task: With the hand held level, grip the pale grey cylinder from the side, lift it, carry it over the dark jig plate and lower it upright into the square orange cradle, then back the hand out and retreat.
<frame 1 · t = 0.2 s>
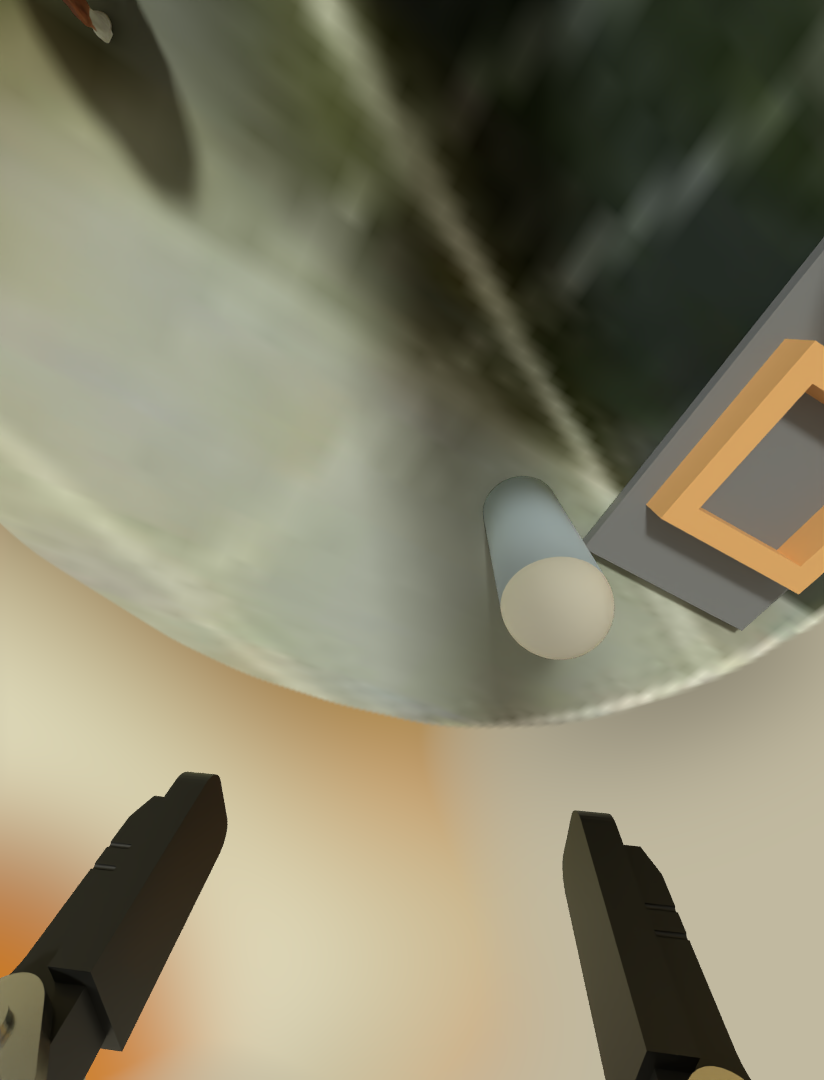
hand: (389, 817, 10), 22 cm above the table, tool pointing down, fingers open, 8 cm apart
pale grey cylinder: (519, 511, 30), on the table
jig: (771, 467, 28), on the table
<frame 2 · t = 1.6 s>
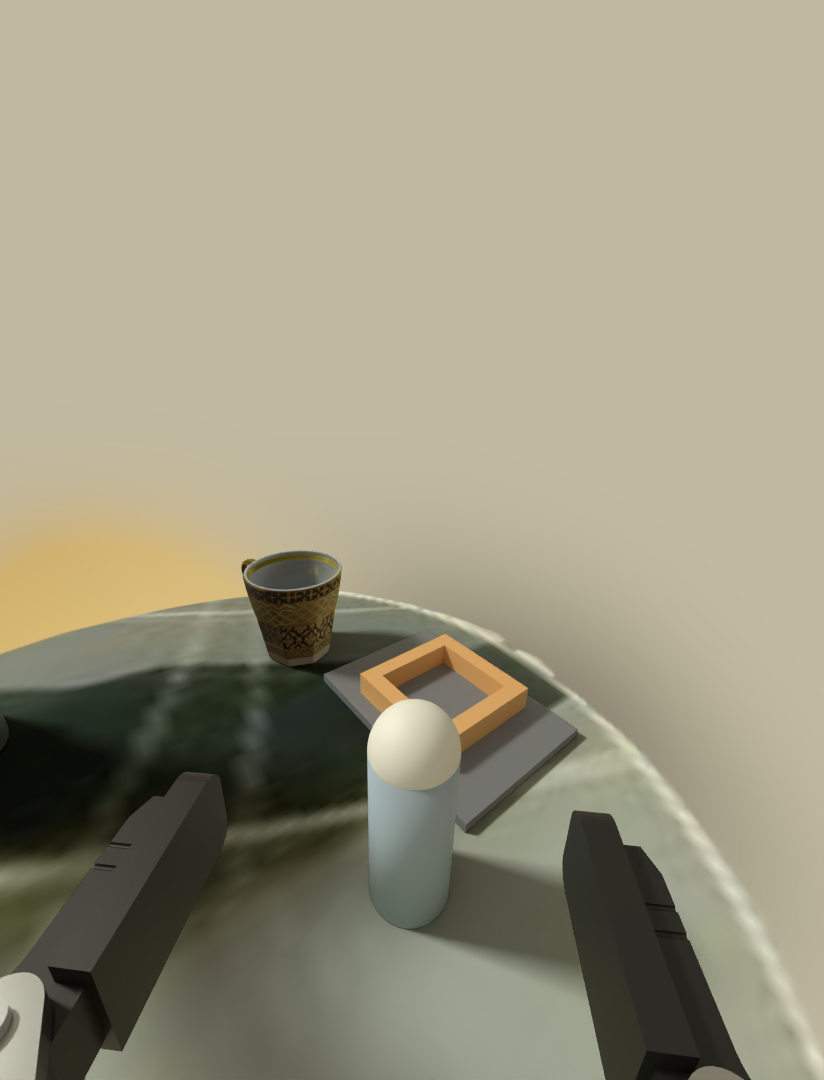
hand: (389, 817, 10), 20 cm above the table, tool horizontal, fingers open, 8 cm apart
ceramic cup: (290, 645, 51), on the table
pale grey cylinder: (409, 881, 28), on the table
jig: (441, 706, 42), on the table
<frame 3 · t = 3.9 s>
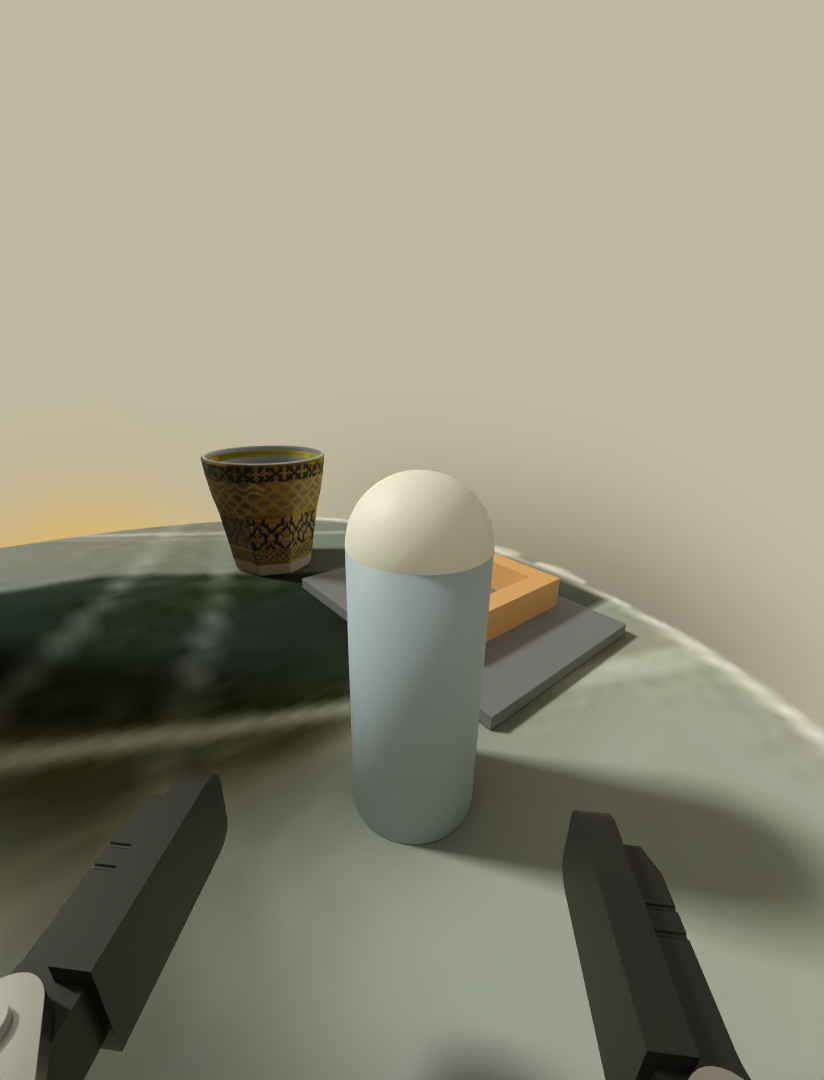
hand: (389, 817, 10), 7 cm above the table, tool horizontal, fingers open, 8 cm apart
ceramic cup: (263, 559, 42), on the table
pale grey cylinder: (413, 786, 19), on the table
jig: (449, 608, 33), on the table
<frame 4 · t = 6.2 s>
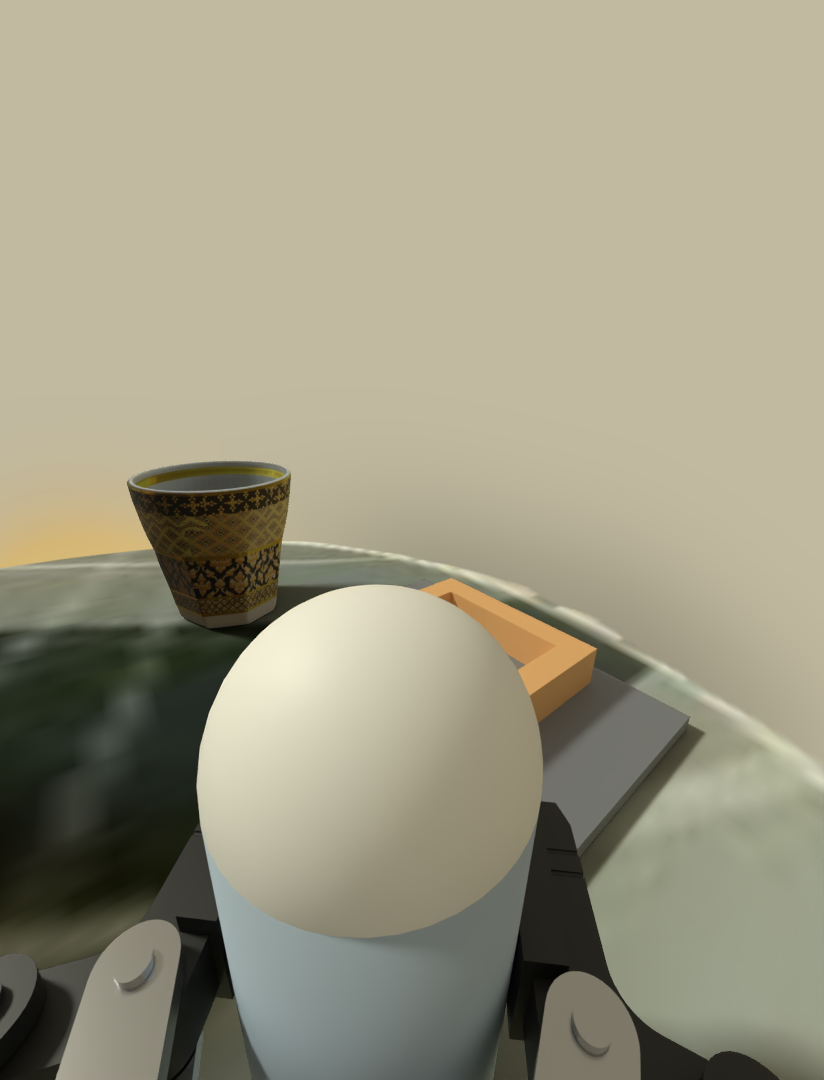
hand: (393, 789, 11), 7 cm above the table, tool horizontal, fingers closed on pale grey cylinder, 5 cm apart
ceramic cup: (219, 602, 34), on the table
jig: (447, 683, 25), on the table
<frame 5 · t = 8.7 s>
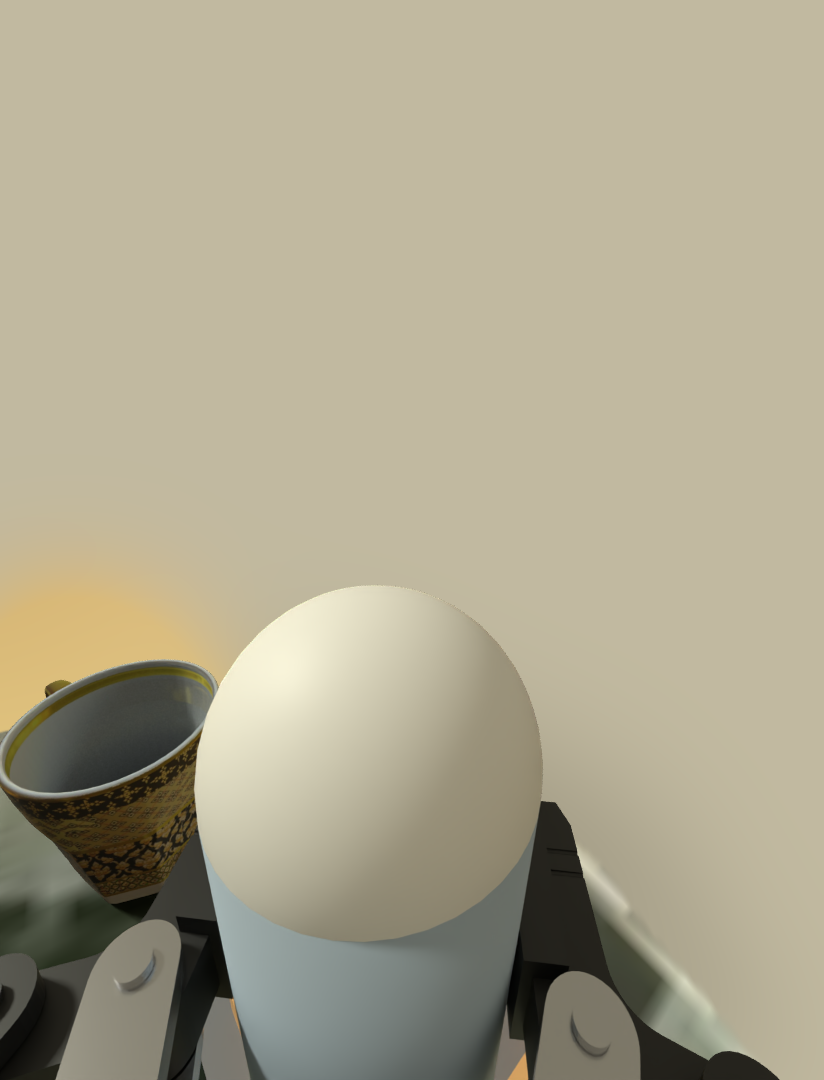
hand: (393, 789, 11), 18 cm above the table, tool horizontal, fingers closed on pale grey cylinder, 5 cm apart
ceramic cup: (138, 834, 28), on the table
jig: (406, 1041, 19), on the table
when the fingers open (9 cm above the table, at t = 11.7 s): pale grey cylinder drops 1 cm, resting on jig.
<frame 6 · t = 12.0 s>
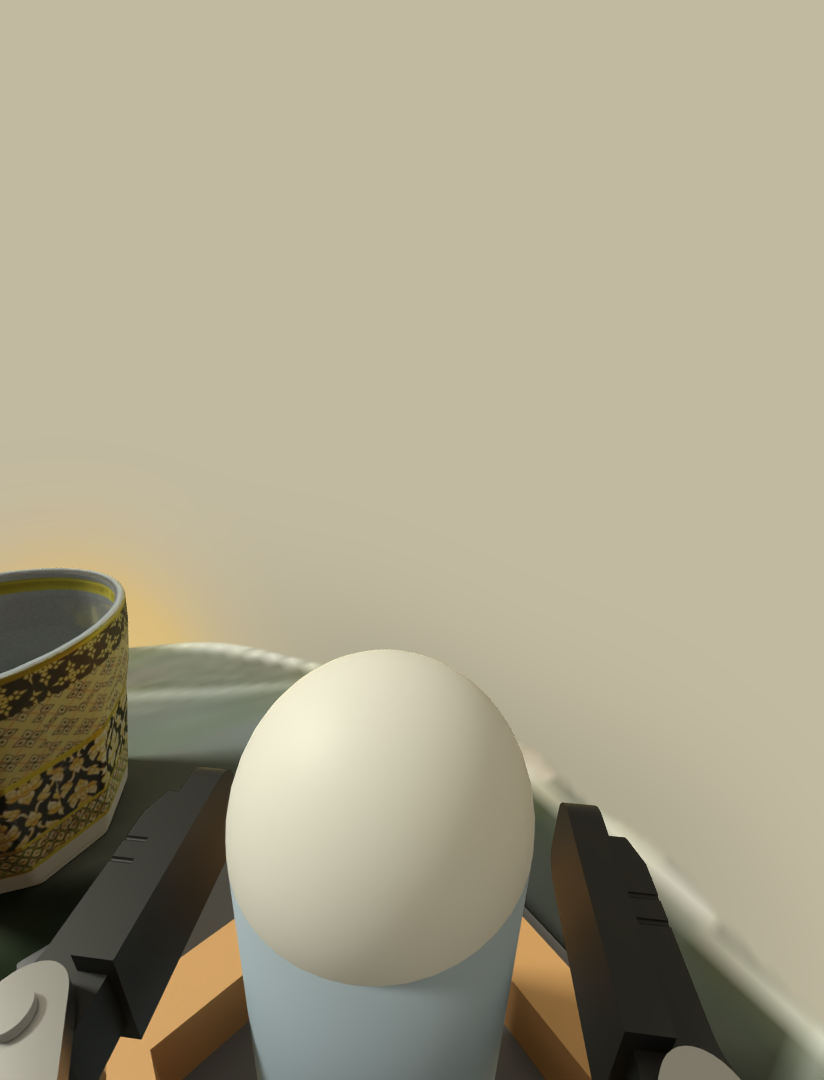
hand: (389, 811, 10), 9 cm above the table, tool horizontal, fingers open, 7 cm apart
ceramic cup: (23, 807, 20), on the table
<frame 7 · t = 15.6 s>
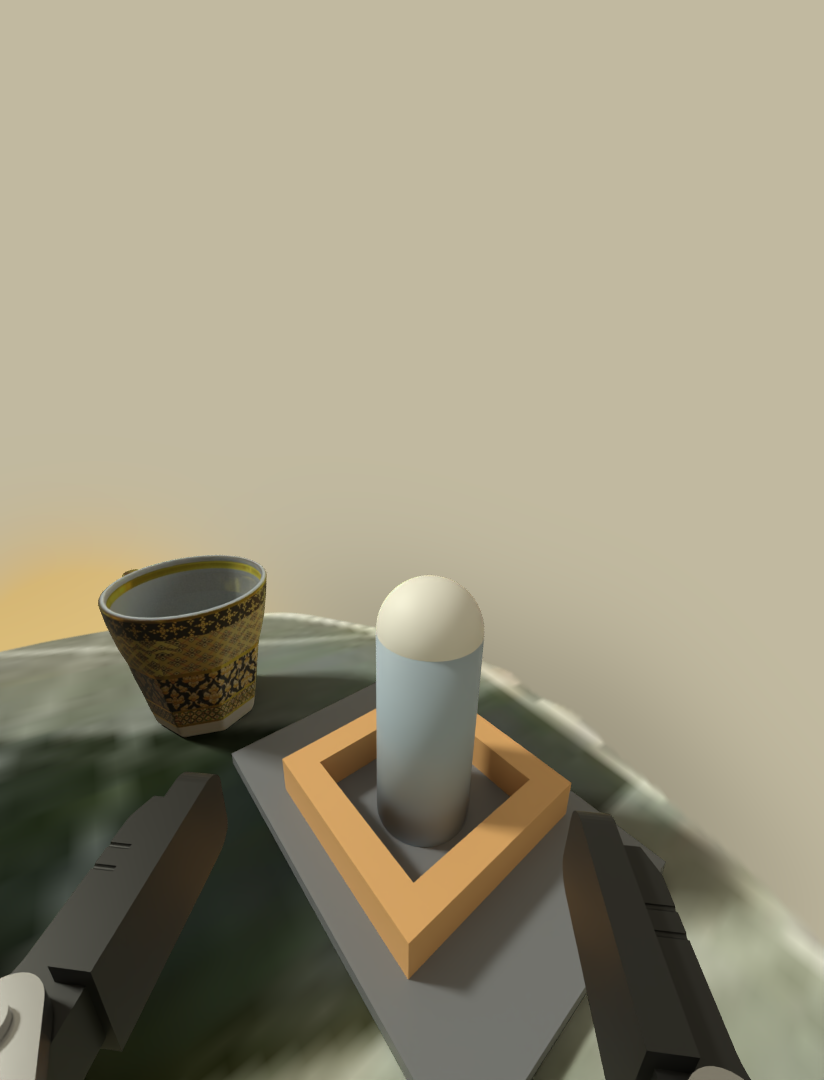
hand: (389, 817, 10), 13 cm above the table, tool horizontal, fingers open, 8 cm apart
ceramic cup: (197, 699, 33), on the table
pale grey cylinder: (422, 801, 24), point 1 cm above the table, touching jig
jig: (421, 811, 25), on the table
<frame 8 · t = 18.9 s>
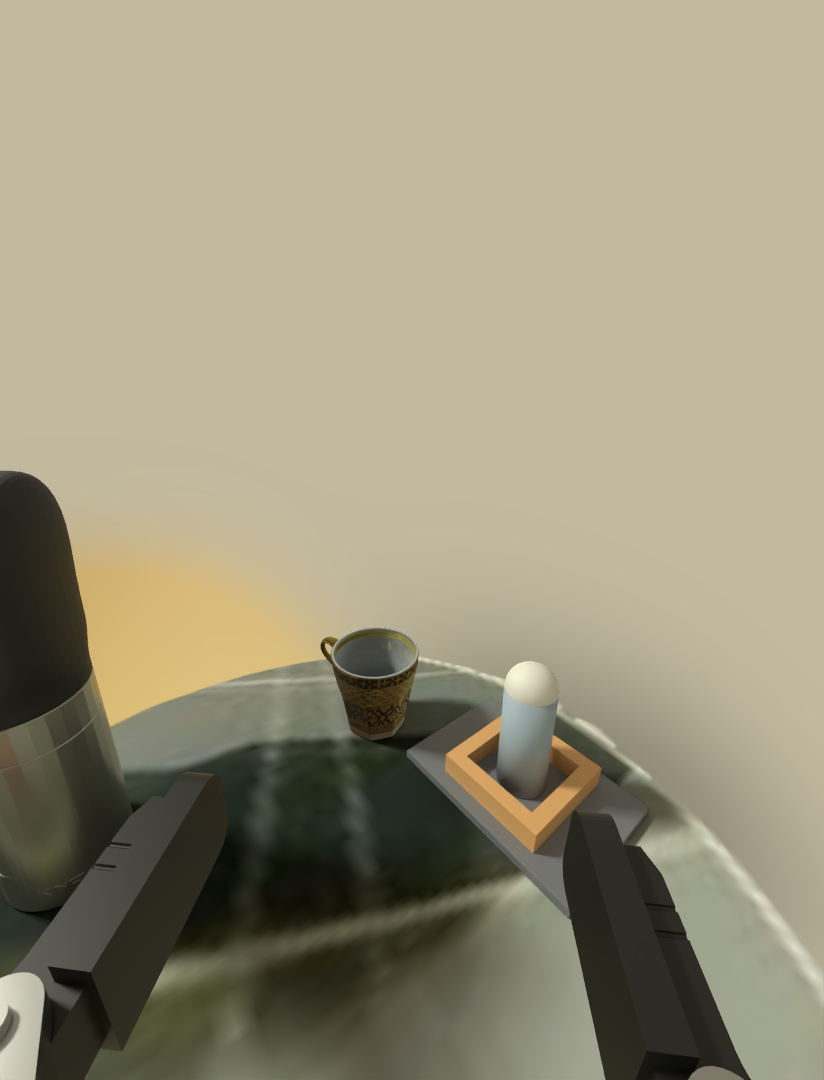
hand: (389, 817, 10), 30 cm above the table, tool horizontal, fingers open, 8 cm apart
ceramic cup: (365, 716, 54), on the table
pale grey cylinder: (520, 777, 45), point 1 cm above the table, touching jig
jig: (519, 782, 46), on the table
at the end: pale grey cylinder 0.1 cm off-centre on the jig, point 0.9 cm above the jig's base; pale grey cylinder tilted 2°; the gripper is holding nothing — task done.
